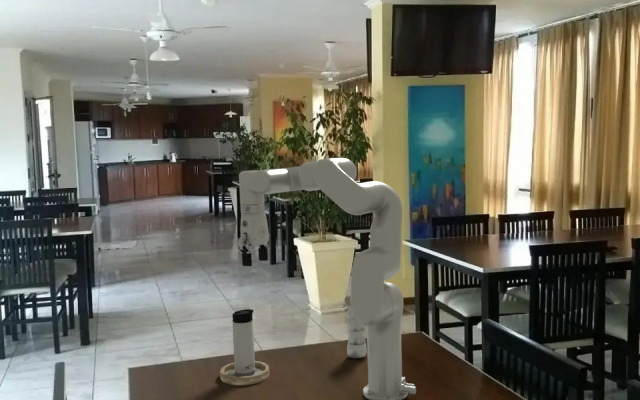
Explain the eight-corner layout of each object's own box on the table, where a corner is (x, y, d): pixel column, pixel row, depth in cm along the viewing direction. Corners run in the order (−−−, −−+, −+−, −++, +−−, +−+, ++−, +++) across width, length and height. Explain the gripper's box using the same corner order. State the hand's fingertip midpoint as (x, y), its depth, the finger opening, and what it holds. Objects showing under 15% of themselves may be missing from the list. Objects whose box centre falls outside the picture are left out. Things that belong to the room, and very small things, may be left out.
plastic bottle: (343, 356, 207) (341, 297, 205) (361, 352, 210) (359, 294, 208) (352, 361, 201) (350, 301, 200) (370, 358, 204) (369, 298, 202)
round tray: (278, 371, 195) (278, 364, 195) (251, 388, 182) (251, 380, 181) (239, 365, 202) (238, 358, 202) (210, 380, 188) (210, 373, 188)
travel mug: (252, 377, 188) (249, 312, 186) (232, 376, 189) (229, 312, 187) (258, 370, 194) (256, 307, 192) (238, 369, 195) (235, 307, 194)
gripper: (247, 212, 186) (251, 268, 187) (276, 206, 201) (279, 258, 203) (227, 212, 189) (230, 267, 190) (256, 207, 205) (259, 258, 206)
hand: (255, 263), depth 196 cm, fingers open, 9 cm apart
